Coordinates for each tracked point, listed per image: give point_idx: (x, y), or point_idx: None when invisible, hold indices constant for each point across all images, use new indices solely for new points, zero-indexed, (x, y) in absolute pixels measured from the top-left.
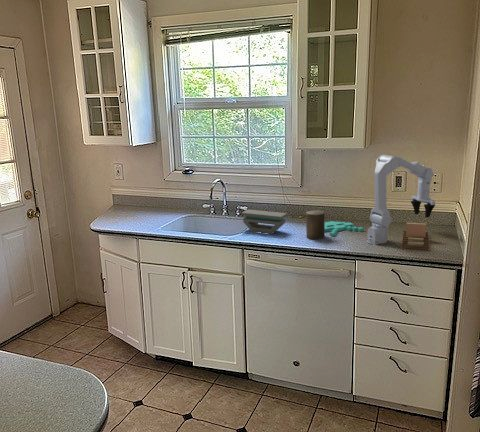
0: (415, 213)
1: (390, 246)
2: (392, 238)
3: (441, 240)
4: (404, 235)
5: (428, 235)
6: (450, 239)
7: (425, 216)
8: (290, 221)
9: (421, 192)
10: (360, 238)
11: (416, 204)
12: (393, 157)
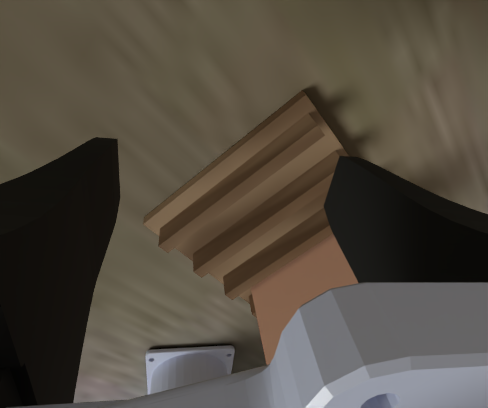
0: (116, 207)
1: (264, 361)
2: (174, 301)
3: (425, 95)
4: (239, 292)
5: (312, 112)
6: (479, 8)
7: (327, 216)
8: None
9: None
10: (83, 399)
11: (70, 328)
12: None
